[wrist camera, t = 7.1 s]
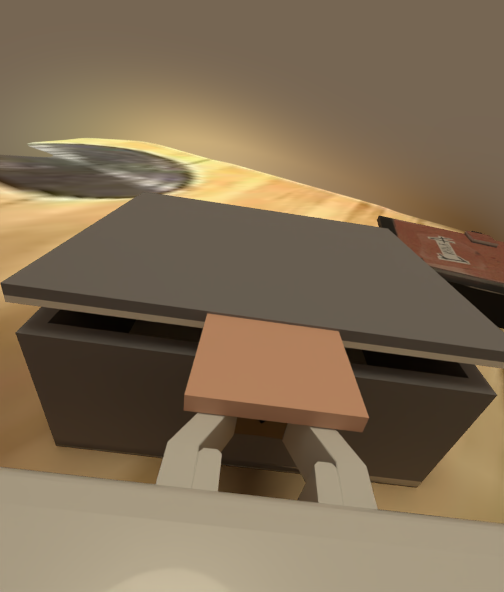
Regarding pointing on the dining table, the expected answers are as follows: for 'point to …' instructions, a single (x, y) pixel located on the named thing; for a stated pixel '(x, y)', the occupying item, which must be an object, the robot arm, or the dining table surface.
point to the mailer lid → (263, 302)
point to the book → (459, 262)
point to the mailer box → (241, 448)
